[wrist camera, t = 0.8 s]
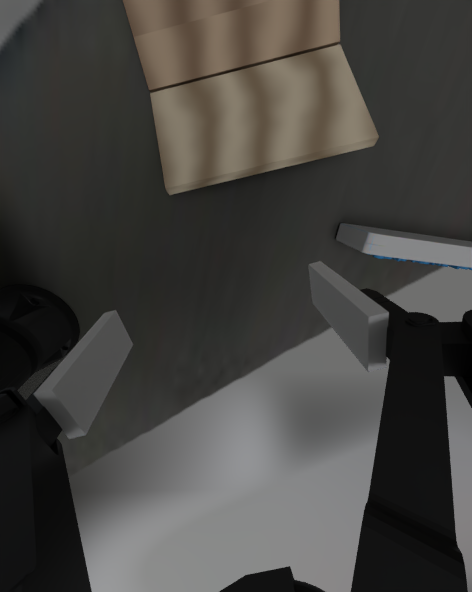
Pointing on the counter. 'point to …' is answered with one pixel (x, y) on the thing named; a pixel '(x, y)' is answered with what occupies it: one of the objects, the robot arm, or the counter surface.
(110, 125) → the counter surface
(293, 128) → the plank
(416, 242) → the decorative sign
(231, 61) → the floor strip
